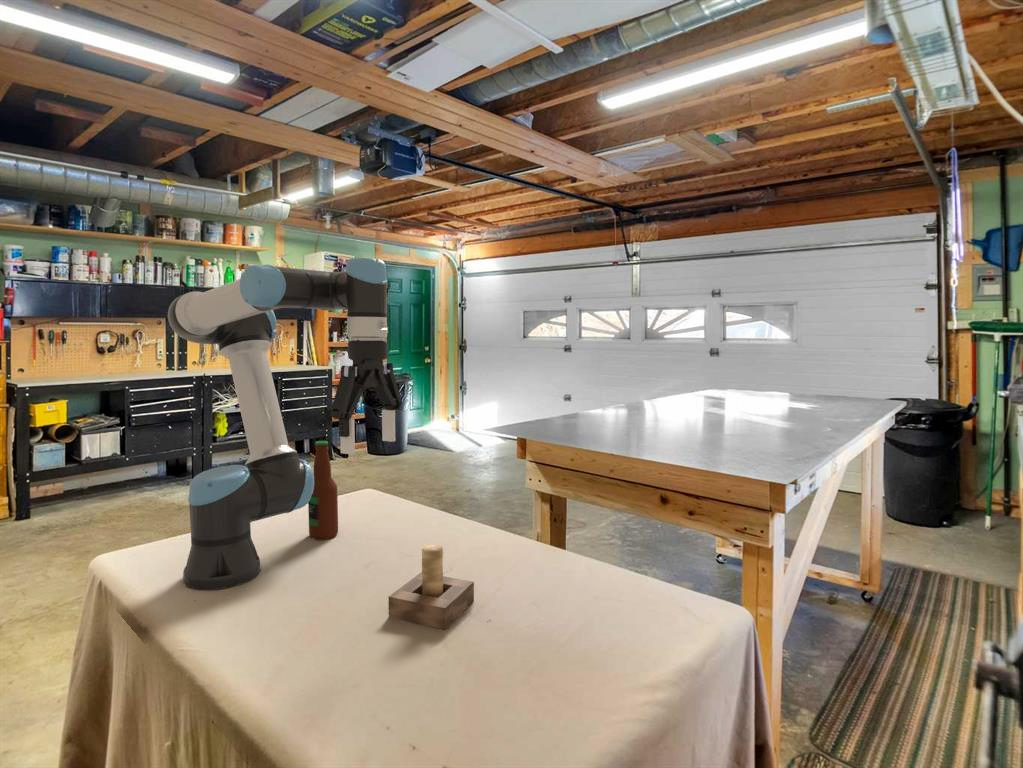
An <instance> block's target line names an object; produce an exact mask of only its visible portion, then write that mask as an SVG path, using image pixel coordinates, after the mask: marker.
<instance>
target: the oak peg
mask: <svg viewBox="0 0 1023 768" xmlns="http://www.w3.org/2000/svg"><path fill="white" fill-rule="evenodd" d="M421 572H422V595H426V596H431V597H436V598H439V597H440V596H441V595H442V594H443V576H444V548H443V546H440V545H438V544H431V545H425V546H423V547H422V548H421Z"/></svg>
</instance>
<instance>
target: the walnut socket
mask: <svg viewBox="0 0 1023 768" xmlns="http://www.w3.org/2000/svg"><path fill="white" fill-rule="evenodd" d="M474 601H475V581H471V580H466V579H460V578H456V577H450V576H444V575H443V594H442V595H441V596H440V597H439V598H436V597H431V596H426V595H422V571H421V572H419V573H418V574H417V575H415V576H414V577H413V578H411V579H410V580H409V581H407V582H406V583H405V584H404V585H402V586H401V587H400V588H398V589H397V590H395V591H394V592H393V593H391V594H390V595H389V596H388V618H392V619H396V620H400V621H406V622H409V623H414V624H419V625H422V626H428V627H431V628H432V627H433V628H438V629H441V630H442V629H443V630H447V628H448V627H449V626H450V625H451V624H452V623H453V622H455V620H457V618H459V616H461V614H462V613H464V612H465V610H467V609H468V608H469V606H470V605H471V604H473V603H474Z"/></svg>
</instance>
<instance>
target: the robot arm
mask: <svg viewBox="0 0 1023 768" xmlns="http://www.w3.org/2000/svg"><path fill="white" fill-rule="evenodd" d="M386 266H387V265H386V263H385V262H384V261H383V260H381V259H379V258H371V257H353V258H352V257H351V258H348V260H347V261H346V266H345V271H326V270H324V271H323V270H315V269H304V268H293V267H284V266H275V265H271V264H251V265H248V266H247V267H245V268H244V271H243V272H242V273H241V275H240V278H238V279H235V280H233V281H231V282H228V283H225V284H221V285H220V286H217V287H213V288H212V289H208V290H207V291H204V292H203V291H202V292H201V291H190V292H186V293H184V294H182V295H179V296H178V297H176V298H175V299H174V300H173V301H172V302H171V304H170V305H169V306H168V310H167V320H168V323H169V326H170V327H171V329H172V331H173V332H174V333H175V334H176V335H178V336H179V337H180V338H182V339H183V340H186V341H188V342H191V343H194V344H200V345H218V351H219V354H220V355H221V356H222V357H224V358H226V359H227V360H228V363H229V367H230V371H231V375H232V379H233V384H234V387H235V388H234V389H235V393H236V396H237V397H236V398H237V402H238V406H239V411H240V414H241V419H242V424H243V428H244V433H245V437H246V441H247V442H246V443H247V446H248V450H249V458H248V459H247V460H246V462H245V463H244V465H242V464H229V465H226V466H225V465H222V466H217V467H214V468H210V469H207V470H204V471H202V472H200V473H198V474H196V475H195V476H194V477H193V478H192V479H191V481H190V482H189V487H188V488H189V490H188V491H189V492H188V499H187V500H188V505H189V506H188V507H189V508H188V509H189V525H190V541H191V543H190V544H191V545H190V550H189V553H188V556H187V560H186V565H185V567H184V569H183V574H182V575H183V584H184V585H185V587H187V588H189V589H191V590H192V589H193V590H199V591H211V590H221V589H227V588H231V587H235V586H239V585H242V584H244V583H246V582H249V581H251V580H252V579H254V578H256V577H257V576H258V575H259V574H260V572H261V570H262V569H261V567H262V566H261V558H260V556H259V555H258V551H257V549H256V547H255V544H254V541H253V540H252V534H251V532H252V531H251V529H252V527H251V526H252V525H251V523H253V522H256V521H261V520H264V519H267V518H271V517H276V516H279V515H283V514H290V513H292V512H293V511H297V510H300V509H302V508H304V507H305V506H307V504H308V502H309V500H310V498H311V495H312V494H313V490H314V470H313V469H312V466H311V465H309V462H308V461H306V460H304V459H299V454H298V452H297V450H296V449H294V448H292V447H290V446H289V442H288V438H287V434H286V429H285V424H284V420H283V418H282V417H283V416H282V412H281V408H280V405H279V404H280V403H279V400H278V395H277V391H276V386H275V382H274V379H273V374H272V369H271V365H270V363H269V362H270V361H269V358H268V351H269V350H270V348H272V341H274V339H275V337H276V335H277V330H276V328H277V327H278V323H277V318H276V315H275V312H274V311H276V310H278V309H283V308H285V309H286V308H287V309H308V310H309V309H312V310H320V311H329V312H332V311H335V310H336V311H337V310H347V313H346V316H347V317H346V324H347V325H346V326H347V329H346V331H347V332H346V333H347V334H346V335H347V336H346V337H348V338H350V340H348V341H347V358H348V359H349V360H351V361H352V365H341V367H340V378H339V381H338V384H337V387H336V392H335V394H334V395H335V396H334V399H333V402H332V405H331V409H330V412H329V413H330V414H329V416H330V417H333V419H335V420H338V435H339V439H340V440H339V441H340V443H339V444H340V454H343V455H344V454H345V455H355V454H356V438H355V437H356V436H355V435H356V434H355V433H356V432H355V430H356V429H355V426H356V425H355V419H354V418H352V416H353V415H354V412H355V410H356V408H357V406H358V404H359V402H360V400H361V397H362V395H363V393H364V392H365V391H366V390H367V389H369V388H373V389H374V391H375V393H376V395H377V397H378V399H379V400H380V402H381V404H382V406H383V408H384V409H382V410H381V427H382V428H381V429H382V430H381V431H382V433H381V435H382V436H381V437H382V438H381V439H382V440H381V441H383V442H391V443H392V442H396V420H397V419H396V411H397V410H398V411H399V410H400V409H401V406H402V404H403V401H402V398H401V394H400V391H399V388H398V384H397V381H396V377H395V375H394V365H393V362H384V361H383V360H387V359H388V347H389V346H388V342H387V340H385V339H386V338H387V337H388V327H387V326H388V321H387V318H388V279H387V267H386Z"/></svg>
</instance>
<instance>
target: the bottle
mask: <svg viewBox="0 0 1023 768" xmlns="http://www.w3.org/2000/svg"><path fill="white" fill-rule="evenodd" d="M314 444H315V447H314V448H315V449H314V450H315V454H314V463H313V475H314V490H313V494H312V495H311V498H310V500H309V502H308V503H307V504H308V534H309V537H310V538H312V539H313V540H319V541H320V540H329V539H332V538H334V537H336V536H337V534H338V533H339V509H338V508H339V505H338V504H339V503H338V502H339V501H338V485H337V484H336V481H334V478H333V477H332V466H331V465H332V464H331V460H330V456H329V452H328V450H329V446H328V445H329V442H328V441H327V440H317V441H315V443H314Z"/></svg>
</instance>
